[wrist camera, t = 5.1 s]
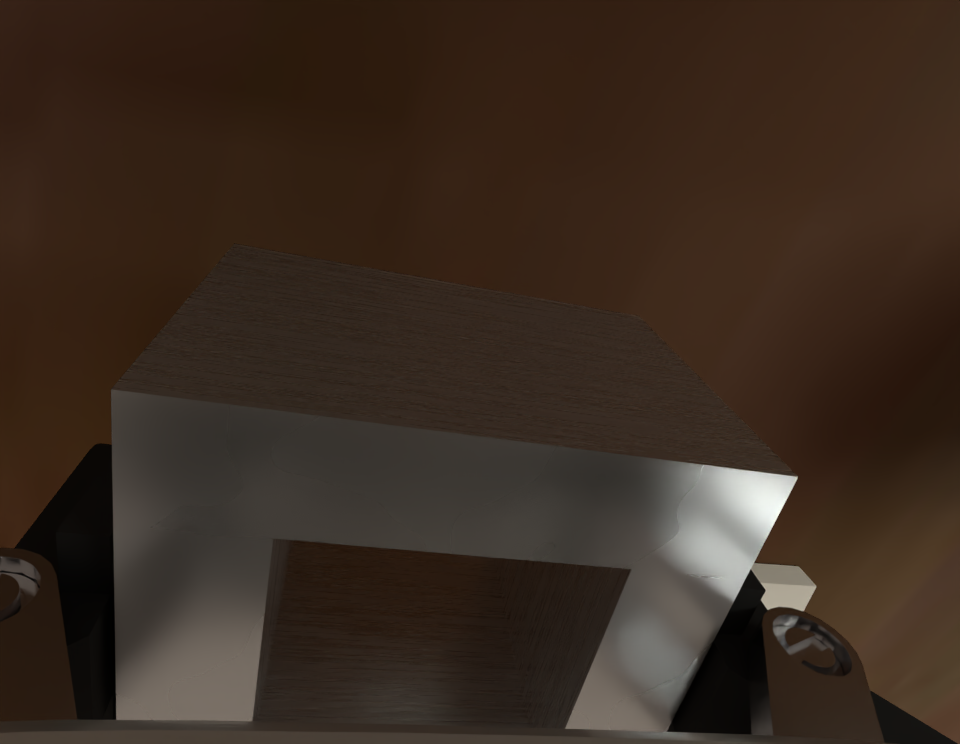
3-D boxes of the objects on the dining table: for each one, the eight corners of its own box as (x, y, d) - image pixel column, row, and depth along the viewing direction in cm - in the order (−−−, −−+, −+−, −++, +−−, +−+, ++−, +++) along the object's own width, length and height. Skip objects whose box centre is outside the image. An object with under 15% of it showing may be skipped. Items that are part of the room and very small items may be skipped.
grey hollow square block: (639, 315, 11) (797, 476, 7) (538, 601, 14) (607, 845, 10) (234, 243, 10) (111, 389, 6) (212, 578, 13) (118, 852, 8)
